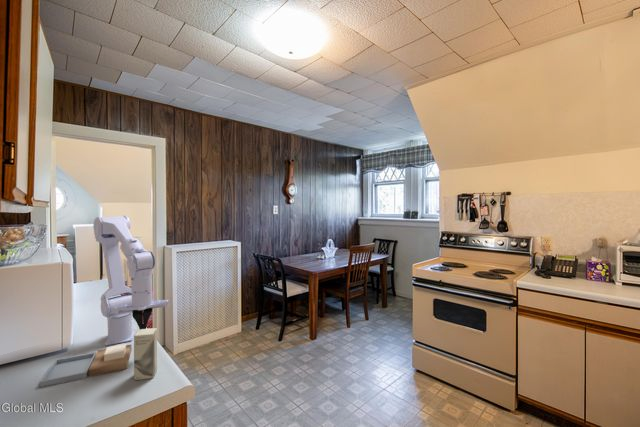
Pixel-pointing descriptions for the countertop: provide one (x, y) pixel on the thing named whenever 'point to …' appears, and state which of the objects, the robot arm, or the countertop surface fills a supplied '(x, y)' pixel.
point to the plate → (108, 363)
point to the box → (145, 353)
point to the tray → (68, 369)
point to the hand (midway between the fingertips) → (143, 332)
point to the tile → (115, 352)
